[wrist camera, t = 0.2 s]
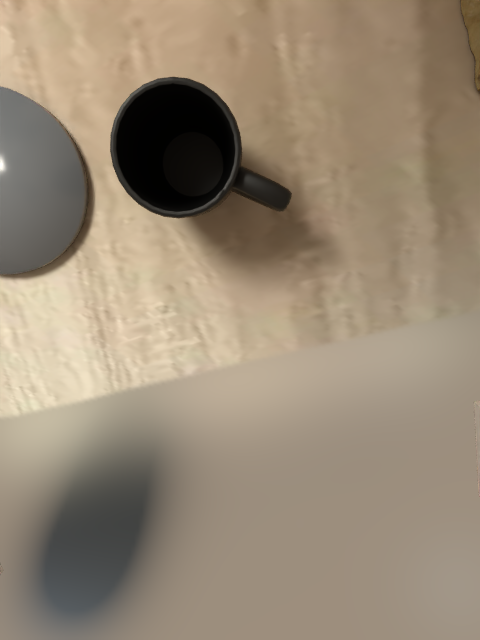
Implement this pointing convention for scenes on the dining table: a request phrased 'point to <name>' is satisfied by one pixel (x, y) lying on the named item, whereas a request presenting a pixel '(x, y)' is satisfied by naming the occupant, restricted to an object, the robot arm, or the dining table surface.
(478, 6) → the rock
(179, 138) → the mug
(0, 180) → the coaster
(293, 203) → the dining table surface
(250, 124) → the dining table surface
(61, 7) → the dining table surface
